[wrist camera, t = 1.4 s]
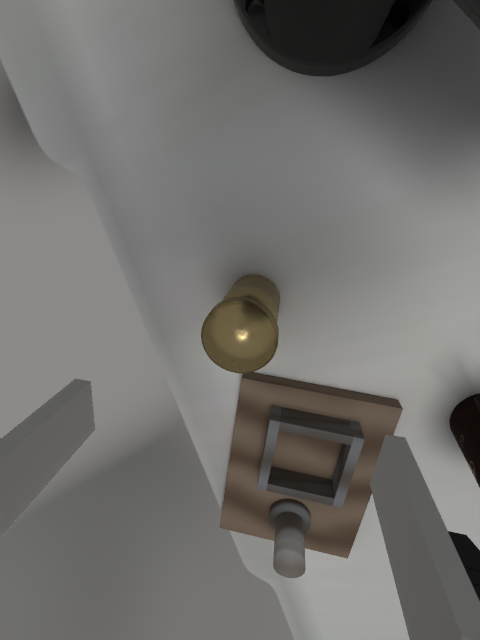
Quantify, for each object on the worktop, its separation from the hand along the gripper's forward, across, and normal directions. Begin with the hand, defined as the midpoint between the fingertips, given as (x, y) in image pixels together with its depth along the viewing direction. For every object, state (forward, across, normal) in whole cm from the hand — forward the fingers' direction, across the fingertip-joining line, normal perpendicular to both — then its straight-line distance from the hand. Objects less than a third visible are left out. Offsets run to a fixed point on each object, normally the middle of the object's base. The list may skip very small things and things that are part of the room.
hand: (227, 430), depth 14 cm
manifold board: (+18, +6, -19) cm, 27 cm away
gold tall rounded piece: (+19, -1, 0) cm, 19 cm away
